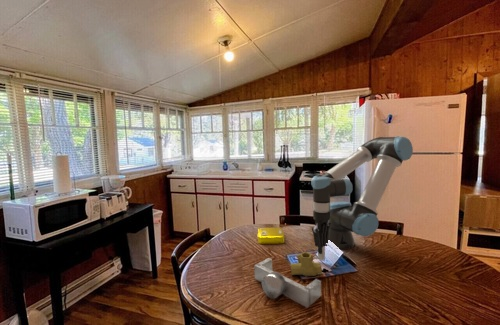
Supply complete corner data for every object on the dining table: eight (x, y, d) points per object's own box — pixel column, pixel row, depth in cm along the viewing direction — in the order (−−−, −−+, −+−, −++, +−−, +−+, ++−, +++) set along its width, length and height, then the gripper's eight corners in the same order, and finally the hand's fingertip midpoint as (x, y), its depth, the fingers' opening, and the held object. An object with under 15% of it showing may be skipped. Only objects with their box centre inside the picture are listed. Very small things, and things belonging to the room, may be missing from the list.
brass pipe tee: (322, 280, 104) (318, 265, 114) (321, 258, 102) (317, 245, 111) (292, 280, 106) (290, 265, 115) (290, 259, 103) (289, 246, 113)
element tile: (284, 244, 139) (284, 235, 139) (258, 244, 140) (257, 236, 139) (282, 233, 154) (282, 226, 154) (257, 234, 155) (257, 226, 154)
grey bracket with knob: (269, 270, 111) (268, 253, 110) (320, 296, 92) (320, 275, 91) (246, 283, 102) (245, 265, 101) (298, 315, 83) (298, 292, 82)
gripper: (321, 206, 122) (321, 252, 124) (306, 211, 113) (306, 261, 115) (336, 209, 116) (335, 257, 119) (321, 215, 107) (321, 267, 110)
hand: (321, 259), depth 117 cm, fingers closed
